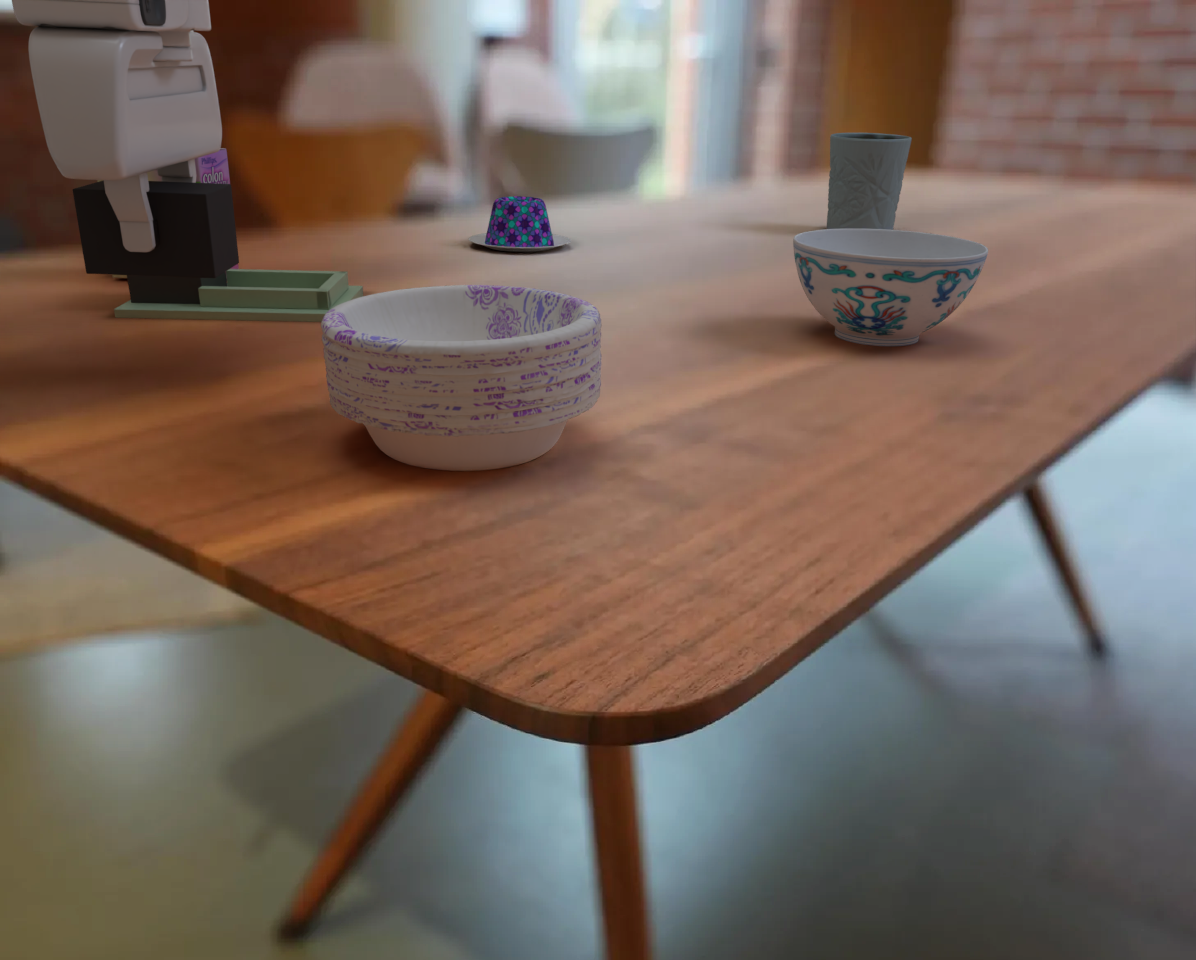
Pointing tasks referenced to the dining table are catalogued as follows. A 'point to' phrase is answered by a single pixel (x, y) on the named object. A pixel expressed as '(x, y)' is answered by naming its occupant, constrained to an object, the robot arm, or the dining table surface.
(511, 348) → the paper bowls
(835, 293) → the chinaware
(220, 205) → the black rectangular block
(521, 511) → the dining table surface
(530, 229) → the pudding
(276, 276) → the base
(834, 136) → the grey carved cup
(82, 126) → the robot arm
